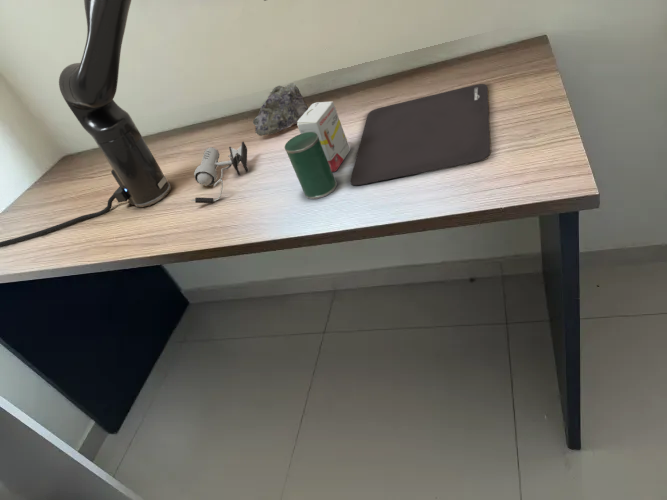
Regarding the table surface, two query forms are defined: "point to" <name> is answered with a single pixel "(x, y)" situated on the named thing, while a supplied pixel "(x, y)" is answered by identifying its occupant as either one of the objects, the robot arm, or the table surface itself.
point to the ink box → (326, 131)
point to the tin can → (311, 165)
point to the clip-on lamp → (207, 168)
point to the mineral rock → (280, 110)
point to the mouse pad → (424, 135)
